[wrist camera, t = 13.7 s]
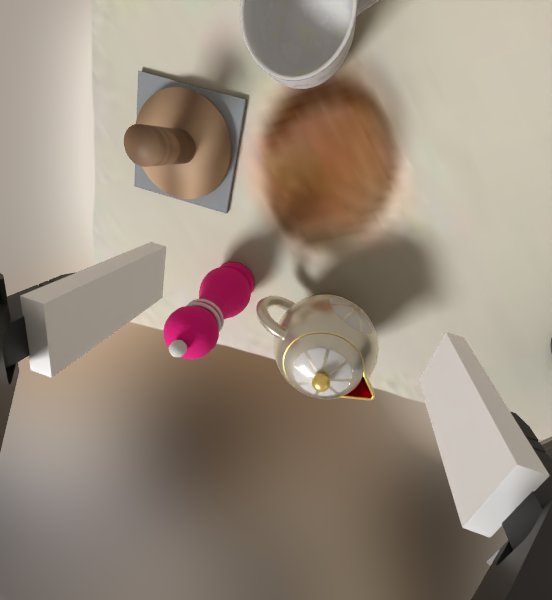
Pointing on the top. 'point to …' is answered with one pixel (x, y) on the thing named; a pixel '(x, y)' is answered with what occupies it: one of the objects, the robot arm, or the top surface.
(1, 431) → the robot arm
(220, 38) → the top surface
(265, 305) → the teapot
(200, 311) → the pepper mill
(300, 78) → the teacup
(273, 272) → the top surface
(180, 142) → the lid
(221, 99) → the mat
